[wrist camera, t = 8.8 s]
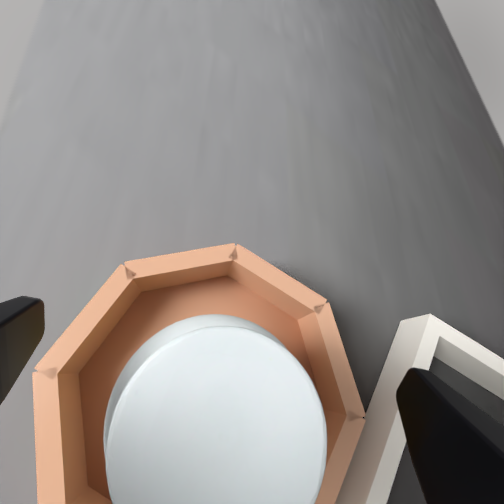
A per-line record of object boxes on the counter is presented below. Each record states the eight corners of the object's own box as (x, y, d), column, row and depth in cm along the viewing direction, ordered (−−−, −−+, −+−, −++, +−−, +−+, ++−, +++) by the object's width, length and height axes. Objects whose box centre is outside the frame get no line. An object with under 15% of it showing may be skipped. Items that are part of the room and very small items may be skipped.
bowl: (247, 609, 13) (266, 686, 10) (5, 447, 14) (-52, 470, 10) (357, 347, 18) (394, 342, 15) (175, 232, 18) (171, 202, 15)
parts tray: (545, 695, 14) (615, 759, 12) (316, 544, 14) (340, 577, 12) (576, 430, 18) (631, 438, 16) (400, 320, 19) (430, 313, 17)
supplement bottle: (117, 419, 14) (-27, 506, 5) (191, 314, 16) (185, 240, 7) (222, 493, 13) (272, 731, 5) (284, 376, 15) (403, 384, 7)
